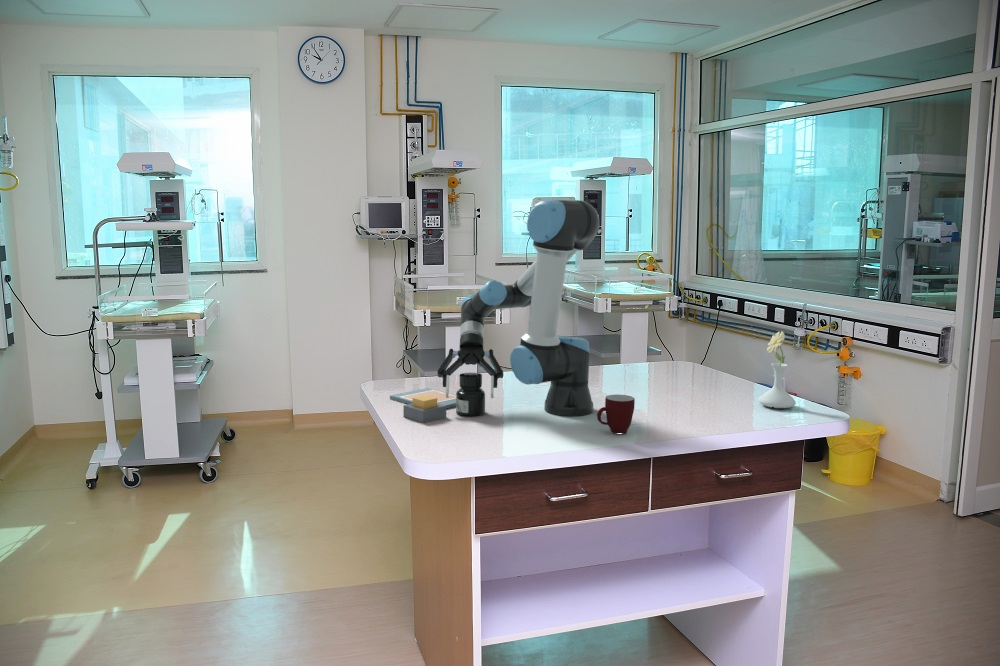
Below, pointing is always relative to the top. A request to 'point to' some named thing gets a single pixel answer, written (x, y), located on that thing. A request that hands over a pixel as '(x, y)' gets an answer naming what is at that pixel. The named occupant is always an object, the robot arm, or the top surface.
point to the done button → (424, 402)
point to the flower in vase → (777, 378)
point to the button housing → (424, 412)
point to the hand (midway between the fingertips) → (469, 395)
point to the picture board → (439, 395)
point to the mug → (618, 412)
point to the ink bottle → (470, 395)
